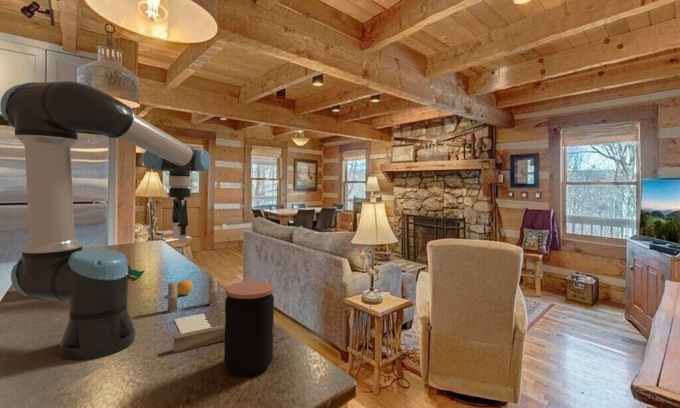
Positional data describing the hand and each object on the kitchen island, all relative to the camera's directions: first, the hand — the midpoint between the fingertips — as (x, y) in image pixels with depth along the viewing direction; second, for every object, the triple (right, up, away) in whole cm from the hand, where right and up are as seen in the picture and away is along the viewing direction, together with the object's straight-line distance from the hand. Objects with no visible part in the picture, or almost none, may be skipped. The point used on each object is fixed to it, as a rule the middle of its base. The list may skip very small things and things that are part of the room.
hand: (179, 241), depth 129 cm
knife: (-29, -18, +15) cm, 37 cm away
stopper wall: (+31, -21, -44) cm, 58 cm away
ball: (+5, -17, -7) cm, 19 cm away
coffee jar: (+43, -22, -55) cm, 73 cm away
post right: (+20, -20, -16) cm, 33 cm away
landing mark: (+23, -21, -32) cm, 45 cm away
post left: (+9, -20, -24) cm, 32 cm away
